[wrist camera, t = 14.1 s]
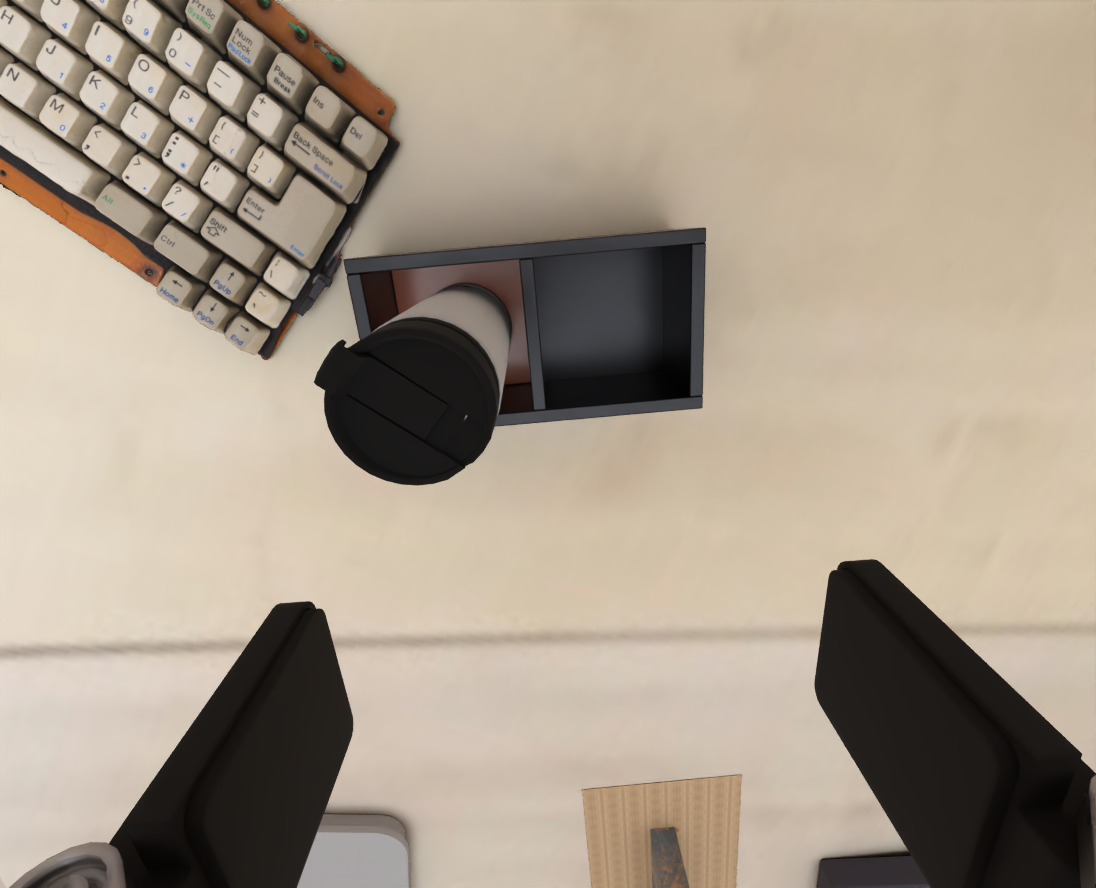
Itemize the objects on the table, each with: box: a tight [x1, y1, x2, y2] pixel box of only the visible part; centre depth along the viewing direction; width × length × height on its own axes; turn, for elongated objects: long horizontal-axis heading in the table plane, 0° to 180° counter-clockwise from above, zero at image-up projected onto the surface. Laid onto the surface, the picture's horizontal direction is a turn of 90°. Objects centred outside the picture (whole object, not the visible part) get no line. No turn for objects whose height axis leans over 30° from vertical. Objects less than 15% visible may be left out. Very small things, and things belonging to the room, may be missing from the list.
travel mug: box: [314, 283, 512, 485], centre depth 29 cm, size 6×7×20 cm
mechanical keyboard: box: [0, 0, 400, 360], centre depth 31 cm, size 38×19×3 cm, turn 53°
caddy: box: [344, 228, 706, 426], centre depth 35 cm, size 10×20×8 cm, turn 95°
